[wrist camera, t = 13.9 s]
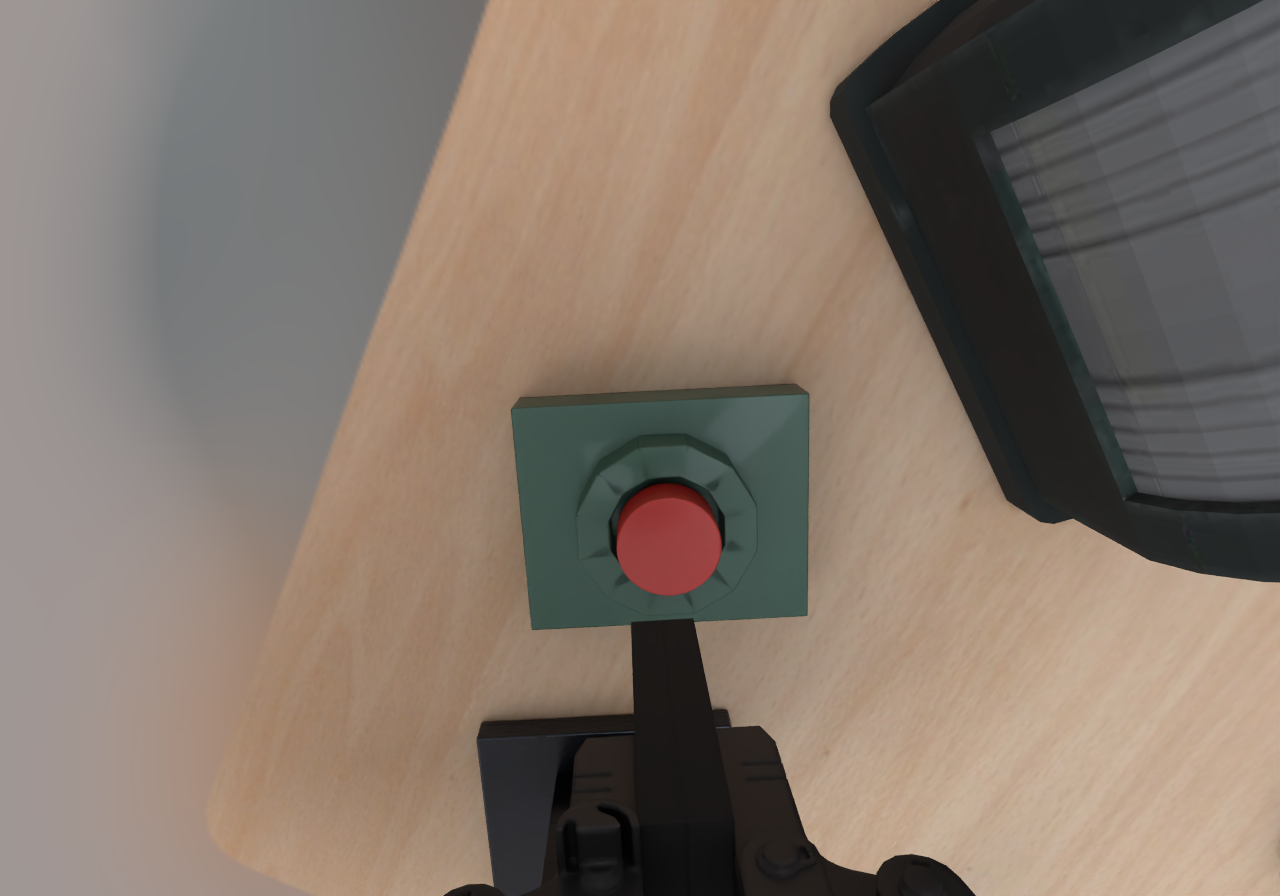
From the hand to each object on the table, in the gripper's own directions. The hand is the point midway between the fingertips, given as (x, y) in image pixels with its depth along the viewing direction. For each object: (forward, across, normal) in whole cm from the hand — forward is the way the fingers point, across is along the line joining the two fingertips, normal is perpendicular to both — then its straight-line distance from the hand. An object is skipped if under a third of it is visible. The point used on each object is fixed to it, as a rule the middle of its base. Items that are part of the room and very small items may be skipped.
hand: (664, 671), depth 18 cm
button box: (+13, +1, 0) cm, 13 cm away
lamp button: (+9, +1, 0) cm, 9 cm away
